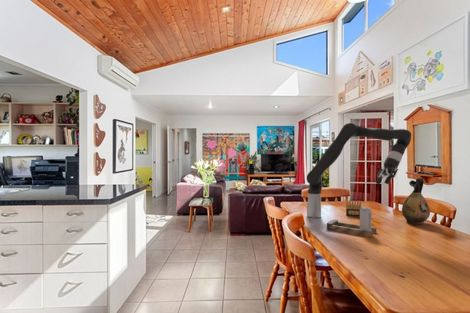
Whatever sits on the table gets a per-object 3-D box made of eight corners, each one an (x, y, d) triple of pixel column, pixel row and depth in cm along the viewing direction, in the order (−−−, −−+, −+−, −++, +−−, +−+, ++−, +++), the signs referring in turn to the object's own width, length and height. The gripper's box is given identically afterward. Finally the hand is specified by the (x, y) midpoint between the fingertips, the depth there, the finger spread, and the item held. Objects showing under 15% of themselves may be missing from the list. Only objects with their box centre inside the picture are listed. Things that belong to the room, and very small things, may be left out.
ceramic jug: (421, 227, 164) (421, 179, 164) (396, 221, 178) (396, 177, 178) (436, 223, 172) (436, 178, 172) (411, 218, 186) (411, 176, 186)
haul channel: (326, 229, 160) (326, 223, 160) (333, 225, 169) (333, 219, 169) (371, 237, 144) (371, 230, 144) (376, 232, 153) (376, 225, 153)
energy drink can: (361, 231, 156) (361, 206, 156) (372, 233, 152) (372, 207, 152) (358, 233, 151) (358, 207, 151) (370, 235, 148) (370, 209, 147)
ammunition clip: (361, 216, 194) (361, 200, 194) (361, 216, 193) (361, 200, 192) (346, 215, 199) (346, 199, 199) (346, 215, 197) (345, 199, 197)
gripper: (380, 158, 166) (369, 180, 164) (395, 155, 152) (383, 180, 150) (391, 164, 166) (380, 186, 163) (406, 162, 152) (395, 186, 149)
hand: (381, 183), depth 156 cm, fingers open, 8 cm apart
